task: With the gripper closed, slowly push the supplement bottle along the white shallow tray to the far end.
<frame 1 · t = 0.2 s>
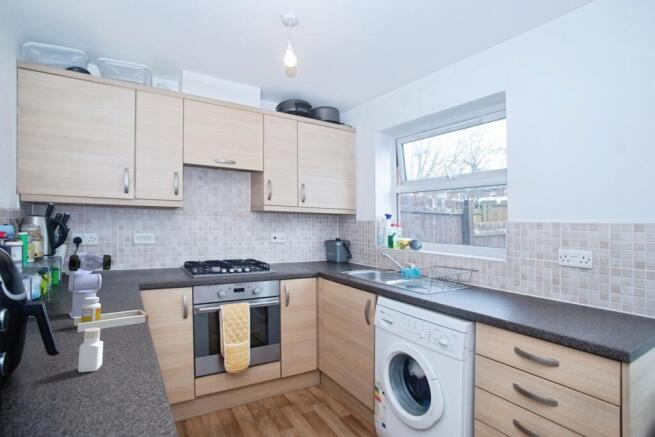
hand: (93, 264, 115), 21 cm above the countertop, tool horizontal, fingers open, 7 cm apart
supplement bottle: (90, 327, 115), resting in white shallow tray
white shallow tray: (130, 320, 123), on the countertop
white square pill bottle: (90, 370, 81), on the countertop
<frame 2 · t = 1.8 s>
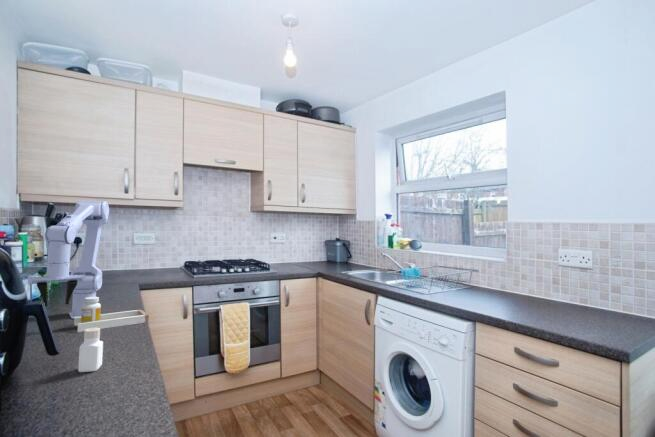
hand: (56, 305, 109), 8 cm above the countertop, tool pointing down, fingers open, 5 cm apart
nothing on the countertop moved.
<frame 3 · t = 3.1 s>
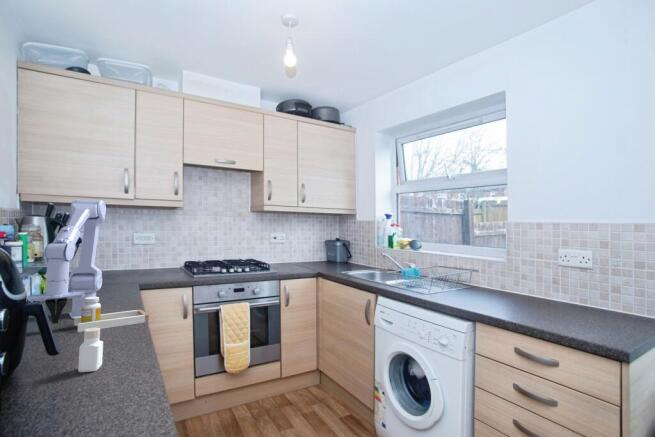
hand: (55, 322, 109), 3 cm above the countertop, tool pointing down, fingers closed
nothing on the countertop moved.
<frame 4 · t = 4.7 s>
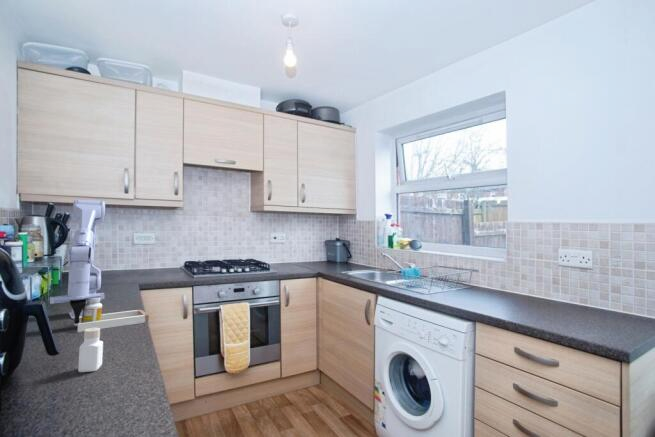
hand: (76, 323, 112), 2 cm above the countertop, tool pointing down, fingers closed, pressing on supplement bottle
supplement bottle: (90, 326, 115), resting in white shallow tray, touching gripper
everything else where it was.
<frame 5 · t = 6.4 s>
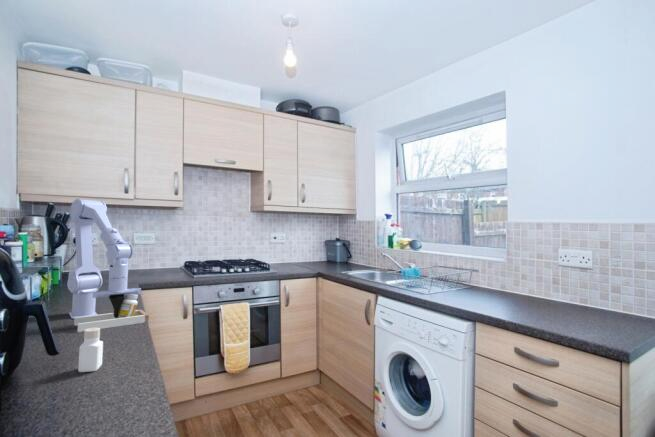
hand: (116, 316, 119), 2 cm above the countertop, tool pointing down, fingers closed, pressing on supplement bottle
supplement bottle: (122, 321, 121), resting in white shallow tray, touching gripper
everything else where it was.
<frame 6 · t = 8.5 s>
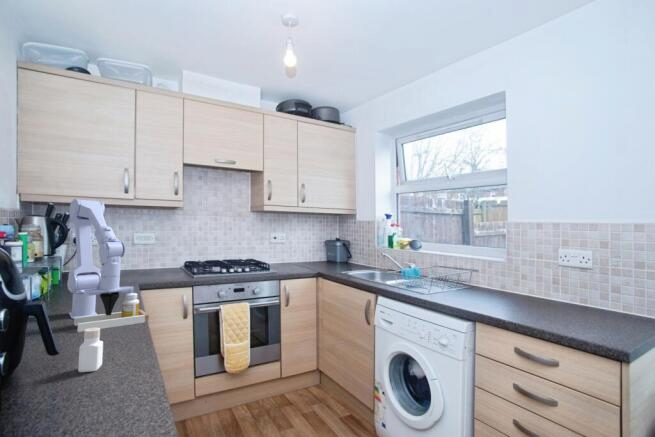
hand: (108, 314, 119), 3 cm above the countertop, tool pointing down, fingers closed
supplement bottle: (129, 321, 123), resting in white shallow tray
everything else where it was.
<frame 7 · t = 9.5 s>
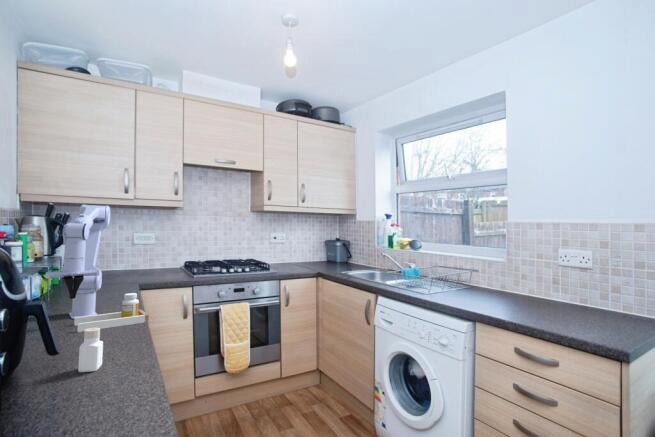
hand: (72, 298, 115), 9 cm above the countertop, tool pointing down, fingers closed
nothing on the countertop moved.
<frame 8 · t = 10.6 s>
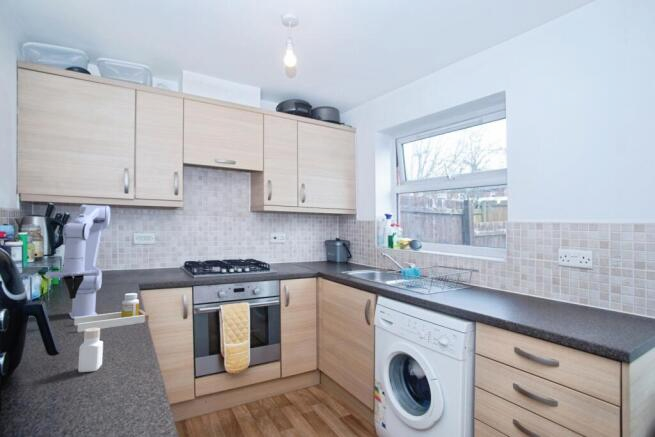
hand: (72, 298, 115), 9 cm above the countertop, tool pointing down, fingers closed
nothing on the countertop moved.
at the end: supplement bottle 0.7 cm off-centre on the white shallow tray, point 0.0 cm above the white shallow tray's base; supplement bottle tilted 1°; supplement bottle moved 11.8 cm from its start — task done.
